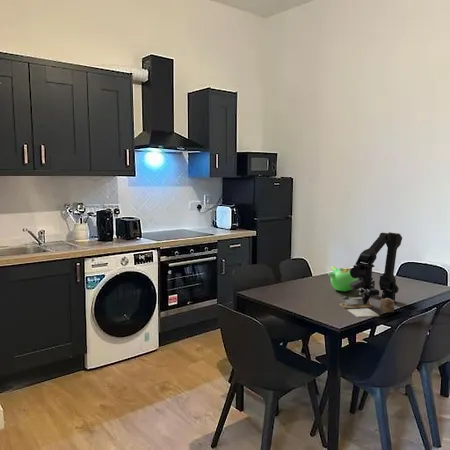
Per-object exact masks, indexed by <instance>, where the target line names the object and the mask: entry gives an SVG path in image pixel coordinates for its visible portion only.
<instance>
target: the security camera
mask: <svg viewBox="0 0 450 450" xmlns="http://www.w3.org/2000/svg"><path fill="white" fill-rule="evenodd" d="M371 285H372V286H373V288H375V289H376V279H375V278H373V280H372V281H371ZM370 289H371V288H370ZM358 295H360V296H361V293H360V292H359V291H358Z"/></svg>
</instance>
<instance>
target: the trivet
mask: <svg viewBox="0 0 450 450" xmlns="http://www.w3.org/2000/svg"><path fill="white" fill-rule="evenodd" d="M347 312H349V313H350V314H352V315H353V316H355V317H356V318H368V317H369V318H370V317H373V318H374V317H380V315H379V313H377V312H375V311H374V310H372V309H370V308H369V307H365V308H347Z"/></svg>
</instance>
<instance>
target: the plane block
mask: <svg viewBox="0 0 450 450" xmlns="http://www.w3.org/2000/svg"><path fill="white" fill-rule="evenodd" d="M344 303H345V302H344ZM344 303H340V302H339V306H340V307H341V308H343V309H365V308H374V304H372V303H370V304H358V305H346V304H344Z"/></svg>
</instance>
